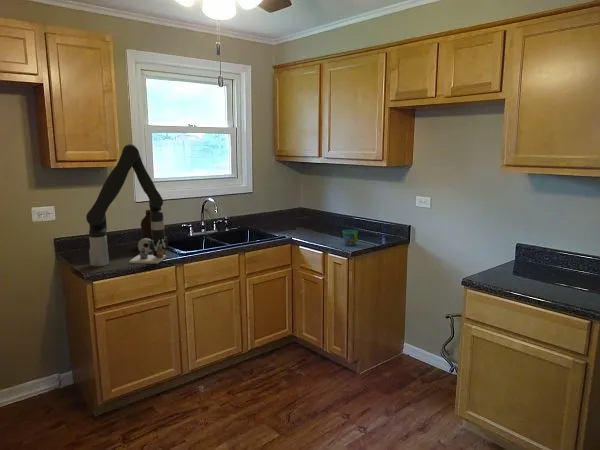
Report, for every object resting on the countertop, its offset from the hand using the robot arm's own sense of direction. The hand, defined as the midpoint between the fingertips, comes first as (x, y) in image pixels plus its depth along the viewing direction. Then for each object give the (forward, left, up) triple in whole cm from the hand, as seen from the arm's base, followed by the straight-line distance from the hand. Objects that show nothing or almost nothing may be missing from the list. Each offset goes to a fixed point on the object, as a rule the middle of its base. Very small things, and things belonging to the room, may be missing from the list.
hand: (159, 255), depth 273 cm
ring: (0, 0, +1) cm, 1 cm away
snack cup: (+119, +42, -3) cm, 126 cm away
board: (-7, -2, -3) cm, 7 cm away
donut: (-14, +14, -3) cm, 20 cm away
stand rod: (-9, -3, -1) cm, 9 cm away
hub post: (0, 0, -1) cm, 1 cm away
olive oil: (-19, +35, -3) cm, 40 cm away
